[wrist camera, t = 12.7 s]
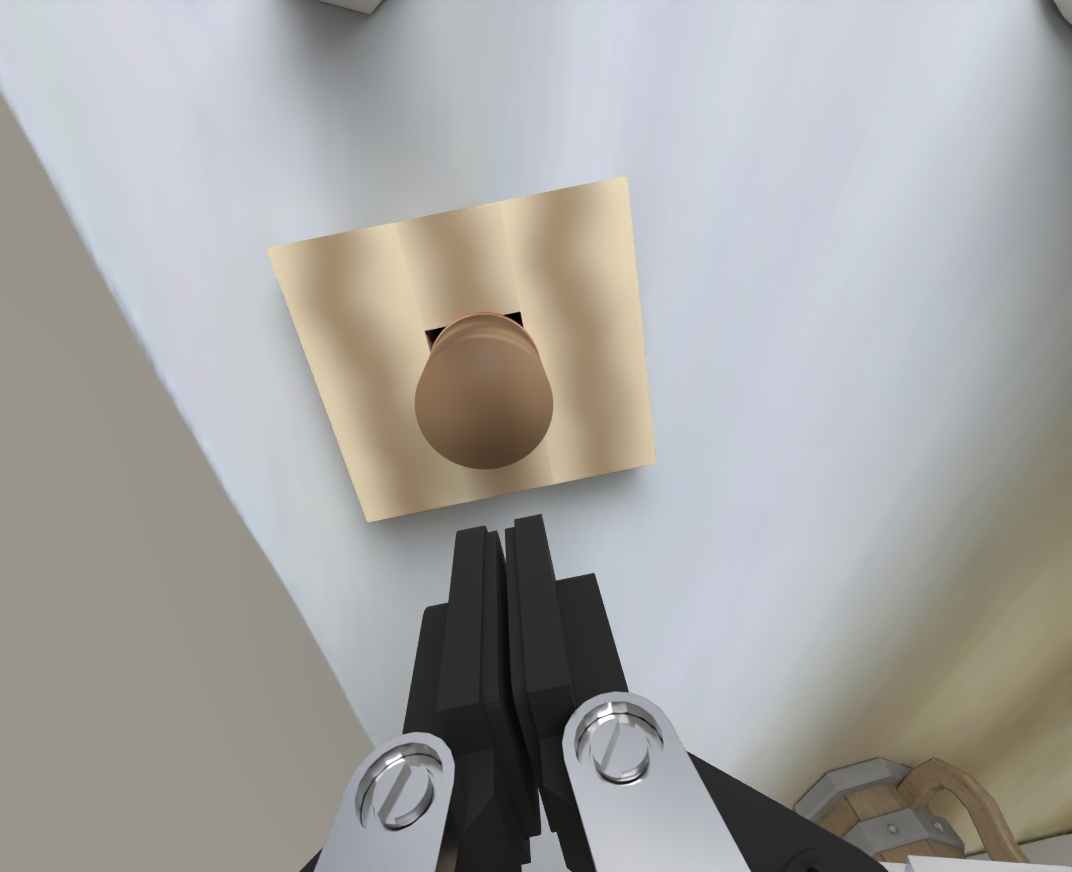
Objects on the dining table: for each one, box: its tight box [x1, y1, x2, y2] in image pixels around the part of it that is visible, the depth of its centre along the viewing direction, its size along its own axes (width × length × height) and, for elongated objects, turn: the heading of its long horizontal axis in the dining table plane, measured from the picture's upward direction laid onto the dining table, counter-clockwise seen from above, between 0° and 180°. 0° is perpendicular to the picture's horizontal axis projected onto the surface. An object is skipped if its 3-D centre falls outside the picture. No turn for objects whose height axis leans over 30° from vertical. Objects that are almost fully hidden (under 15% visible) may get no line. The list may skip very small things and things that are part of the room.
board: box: [266, 176, 656, 522], centre depth 30 cm, size 18×16×4 cm
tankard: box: [794, 757, 1072, 867], centre depth 45 cm, size 20×13×15 cm, turn 153°
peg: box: [414, 312, 553, 469], centre depth 27 cm, size 6×6×10 cm
